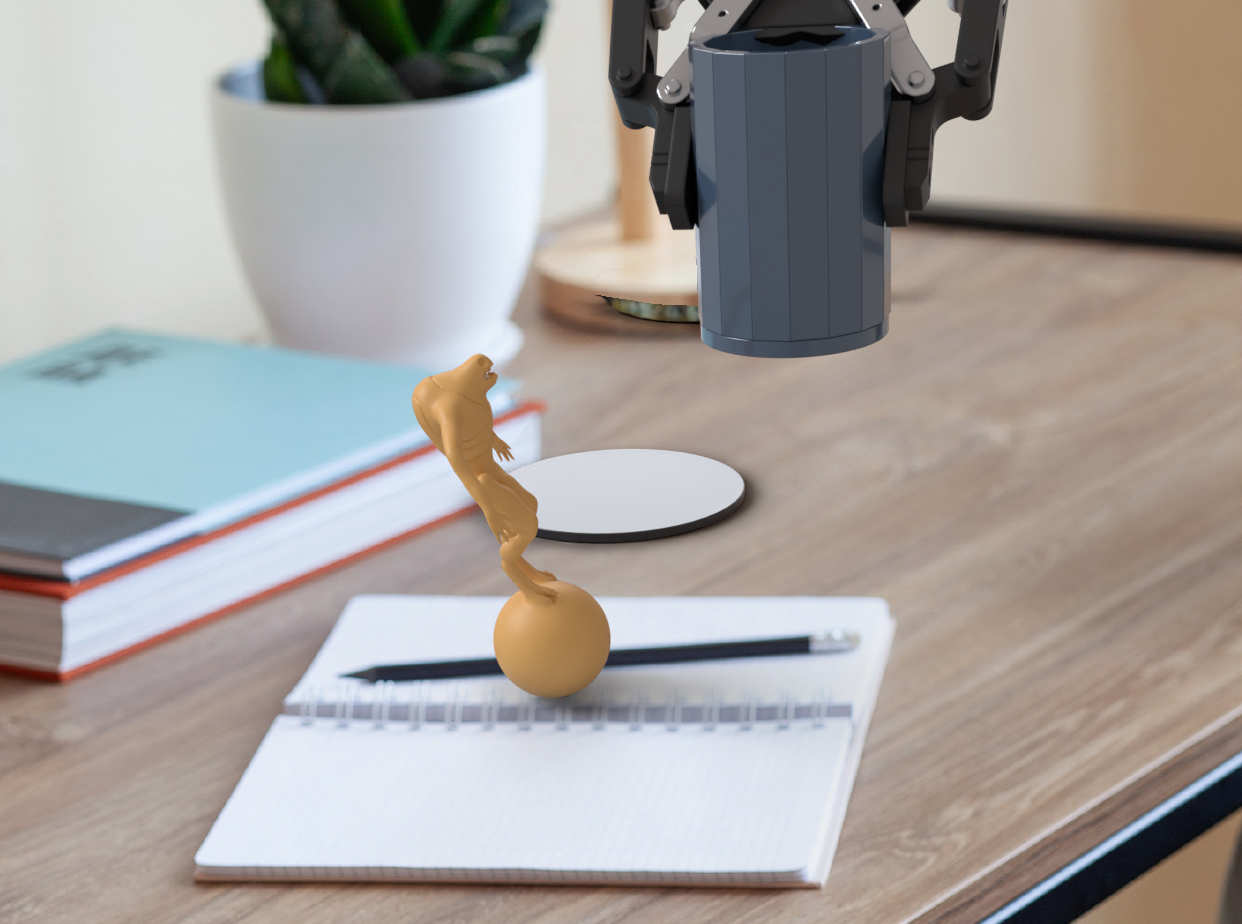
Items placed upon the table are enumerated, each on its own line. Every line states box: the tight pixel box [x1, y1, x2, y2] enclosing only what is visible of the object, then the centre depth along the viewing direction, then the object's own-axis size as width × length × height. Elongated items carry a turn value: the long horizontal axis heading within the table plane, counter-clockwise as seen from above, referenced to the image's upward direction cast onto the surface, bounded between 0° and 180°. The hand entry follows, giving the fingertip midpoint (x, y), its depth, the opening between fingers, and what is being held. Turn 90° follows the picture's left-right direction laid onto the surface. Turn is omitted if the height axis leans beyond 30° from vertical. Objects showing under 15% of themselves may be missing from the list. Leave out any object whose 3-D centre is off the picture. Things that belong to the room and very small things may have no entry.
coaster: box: [507, 448, 746, 543], centre depth 89 cm, size 11×11×1 cm
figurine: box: [411, 353, 612, 699], centre depth 69 cm, size 8×6×12 cm
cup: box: [687, 24, 892, 359], centre depth 72 cm, size 7×7×10 cm
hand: (786, 215), depth 70 cm, fingers closed on cup, 6 cm apart
